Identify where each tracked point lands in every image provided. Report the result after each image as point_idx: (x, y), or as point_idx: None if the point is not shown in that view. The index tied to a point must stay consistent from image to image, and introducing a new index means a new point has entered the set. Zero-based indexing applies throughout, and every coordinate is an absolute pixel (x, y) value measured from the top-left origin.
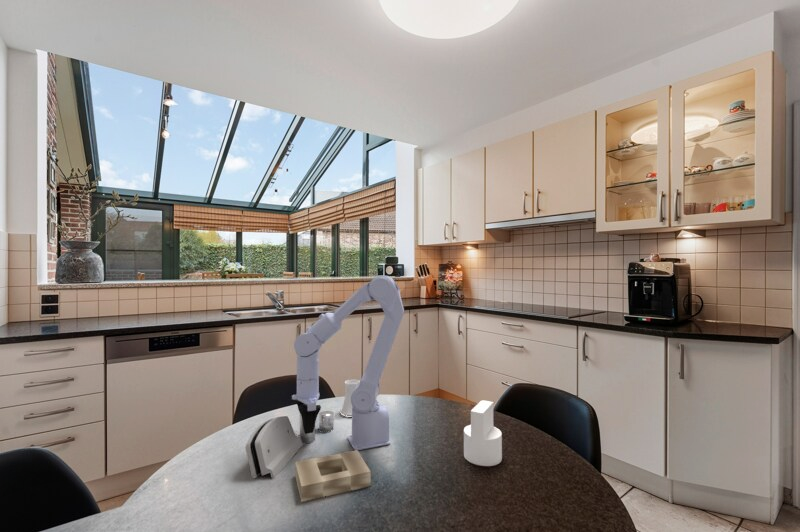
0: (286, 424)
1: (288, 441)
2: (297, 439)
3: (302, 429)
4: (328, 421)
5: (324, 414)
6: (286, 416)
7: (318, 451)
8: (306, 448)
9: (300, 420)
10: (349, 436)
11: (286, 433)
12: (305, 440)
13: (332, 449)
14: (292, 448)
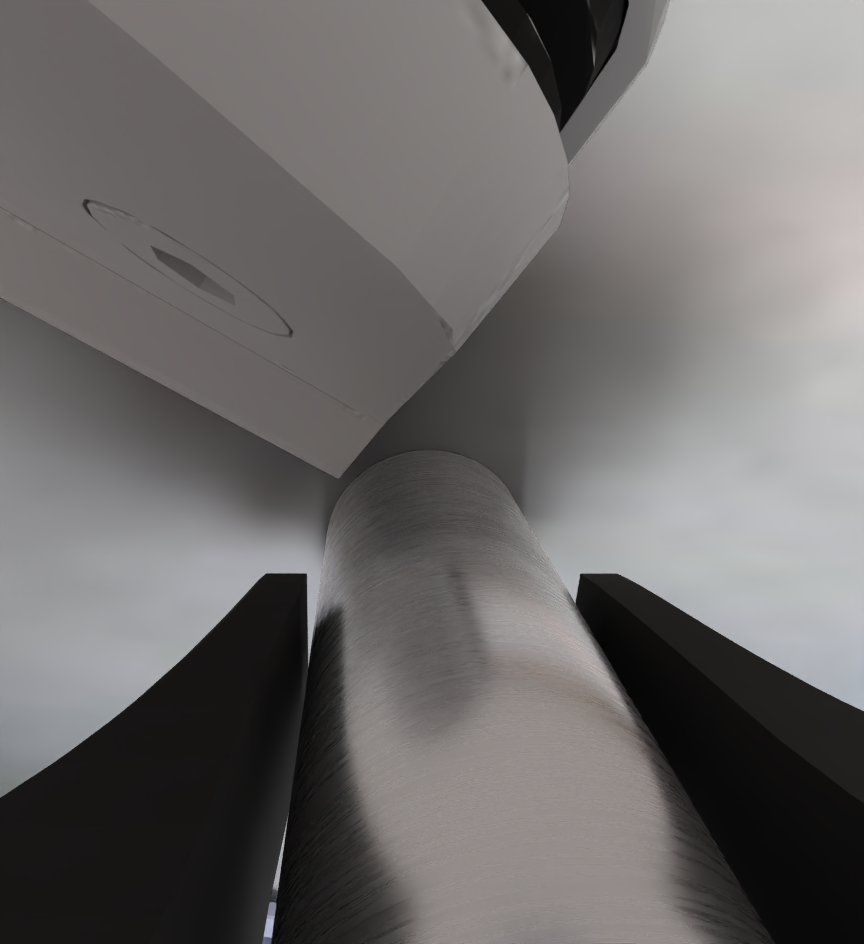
0: (198, 231)
1: (109, 255)
2: (273, 428)
3: (355, 567)
4: None
5: None
6: (385, 263)
7: (58, 613)
8: (191, 499)
9: (428, 634)
10: (264, 932)
11: (89, 212)
12: (333, 526)
13: (68, 747)
14: (13, 304)
